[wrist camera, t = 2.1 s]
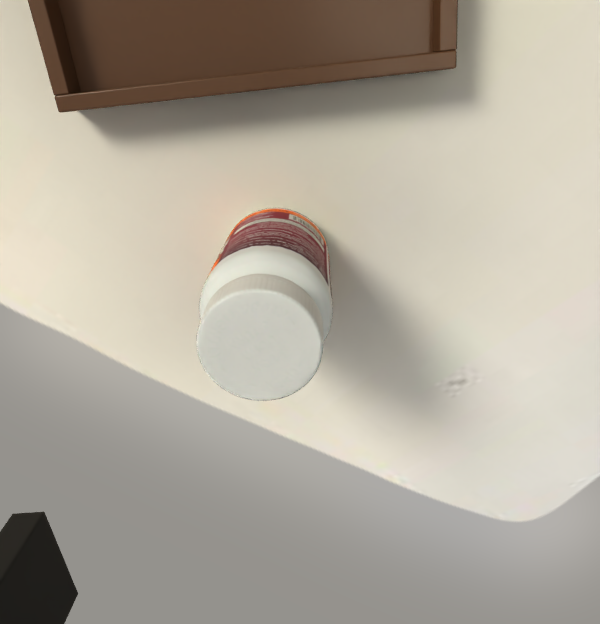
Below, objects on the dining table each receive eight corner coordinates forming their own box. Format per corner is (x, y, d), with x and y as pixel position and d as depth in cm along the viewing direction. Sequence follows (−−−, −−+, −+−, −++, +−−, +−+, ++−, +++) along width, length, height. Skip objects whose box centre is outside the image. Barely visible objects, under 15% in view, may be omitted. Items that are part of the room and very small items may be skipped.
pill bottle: (214, 216, 30) (160, 292, 20) (318, 195, 30) (318, 262, 19) (241, 311, 33) (206, 422, 23) (338, 294, 32) (347, 399, 22)
